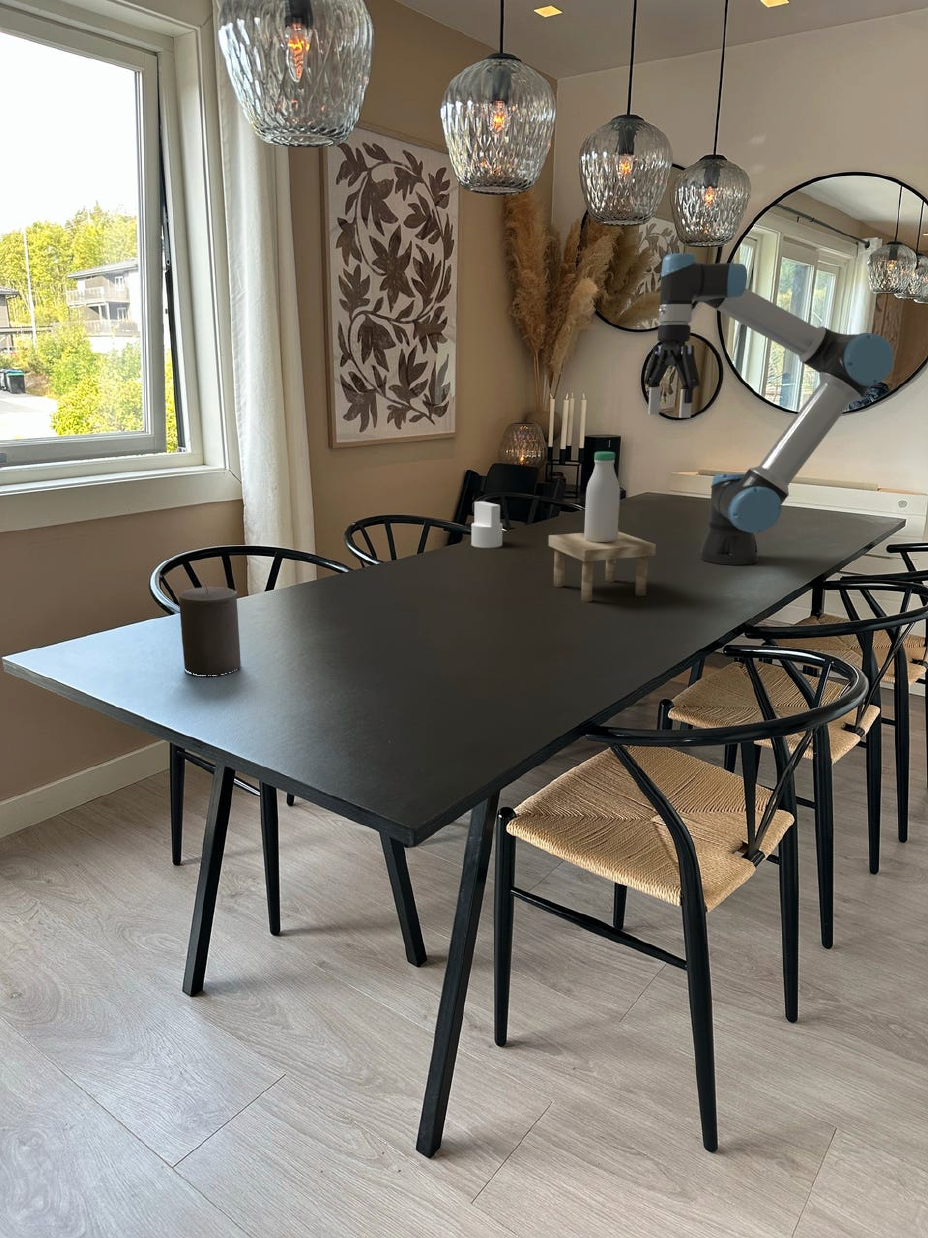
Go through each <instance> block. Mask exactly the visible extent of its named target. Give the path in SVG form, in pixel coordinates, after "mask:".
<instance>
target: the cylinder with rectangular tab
mask: <svg viewBox="0 0 928 1238" xmlns="http://www.w3.org/2000/svg"><path fill="white" fill-rule="evenodd" d="M473 514H474V517H473V518H474V522H472V523H471V541H470V542H471V546H473V547H475V548H482V549H491V548H499V547H502V546H503V523H501V505H500V504H496V503H491V502H487V501H483V500H481V501H474V513H473Z"/></svg>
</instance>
